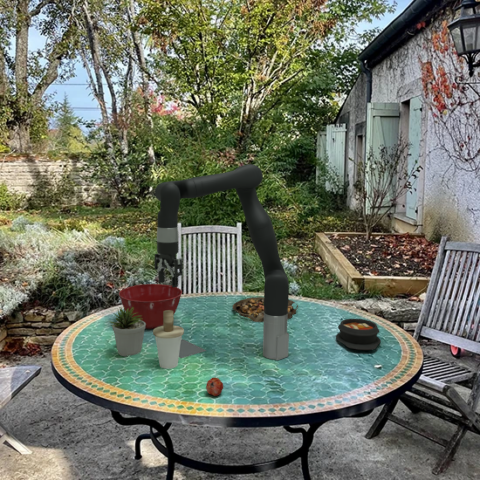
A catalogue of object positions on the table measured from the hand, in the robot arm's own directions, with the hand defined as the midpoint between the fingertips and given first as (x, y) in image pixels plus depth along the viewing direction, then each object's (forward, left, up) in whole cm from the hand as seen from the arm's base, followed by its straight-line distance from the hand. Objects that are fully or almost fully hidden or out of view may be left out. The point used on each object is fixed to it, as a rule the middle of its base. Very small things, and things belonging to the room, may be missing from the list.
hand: (168, 284), depth 171 cm
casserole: (-30, -75, -31) cm, 87 cm away
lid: (0, 0, -18) cm, 18 cm away
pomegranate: (-27, 0, -31) cm, 41 cm away
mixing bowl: (+45, -20, -31) cm, 58 cm away
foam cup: (0, 0, -31) cm, 31 cm away
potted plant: (+21, +5, -31) cm, 38 cm away
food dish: (+25, -75, -32) cm, 85 cm away
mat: (+10, -13, -31) cm, 35 cm away
